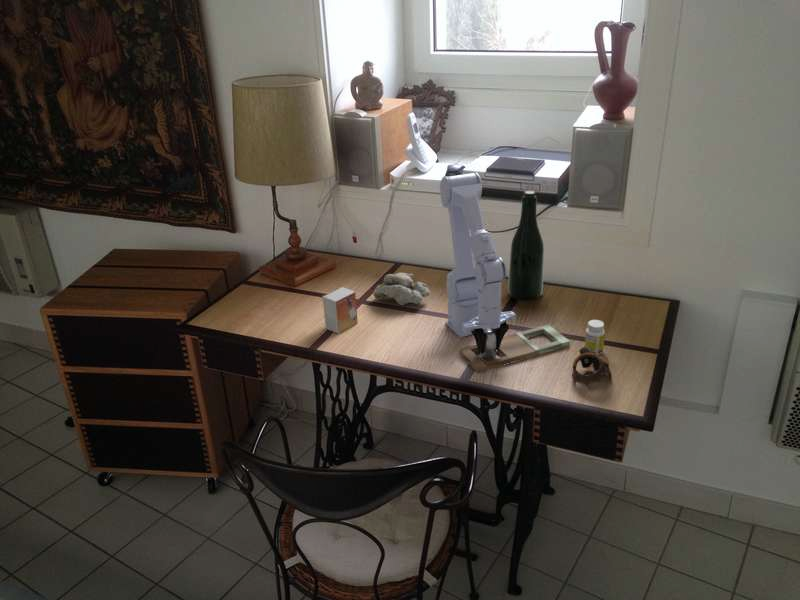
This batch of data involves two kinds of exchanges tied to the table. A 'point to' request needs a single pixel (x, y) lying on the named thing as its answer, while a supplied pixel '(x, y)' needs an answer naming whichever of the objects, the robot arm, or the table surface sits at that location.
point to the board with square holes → (516, 348)
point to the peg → (490, 344)
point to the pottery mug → (586, 361)
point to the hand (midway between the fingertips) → (488, 349)
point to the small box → (340, 310)
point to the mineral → (401, 289)
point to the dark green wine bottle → (526, 254)
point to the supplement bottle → (595, 337)
